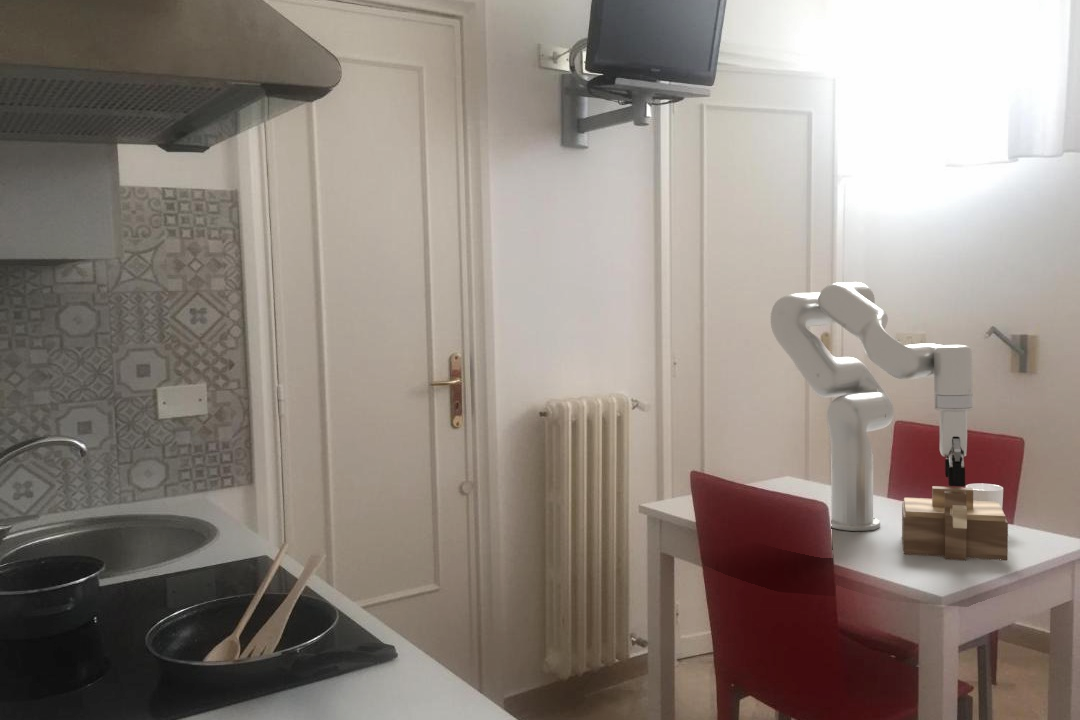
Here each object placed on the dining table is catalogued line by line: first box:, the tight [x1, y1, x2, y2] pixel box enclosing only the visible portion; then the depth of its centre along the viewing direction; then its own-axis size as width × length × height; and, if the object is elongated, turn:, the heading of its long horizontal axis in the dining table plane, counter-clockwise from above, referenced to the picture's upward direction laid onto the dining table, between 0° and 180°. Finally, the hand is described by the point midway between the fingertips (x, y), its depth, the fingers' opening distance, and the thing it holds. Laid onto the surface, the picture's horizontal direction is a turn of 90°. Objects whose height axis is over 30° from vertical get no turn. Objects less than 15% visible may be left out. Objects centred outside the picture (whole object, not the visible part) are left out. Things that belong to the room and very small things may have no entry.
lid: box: [903, 485, 1007, 522], centre depth 201 cm, size 13×19×6 cm
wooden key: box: [952, 505, 967, 529], centre depth 186 cm, size 9×2×4 cm, turn 160°
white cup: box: [965, 482, 1004, 510], centre depth 216 cm, size 8×8×10 cm
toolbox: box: [901, 491, 1009, 562], centre depth 200 cm, size 16×20×14 cm
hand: (955, 481), depth 200 cm, fingers open, 9 cm apart
